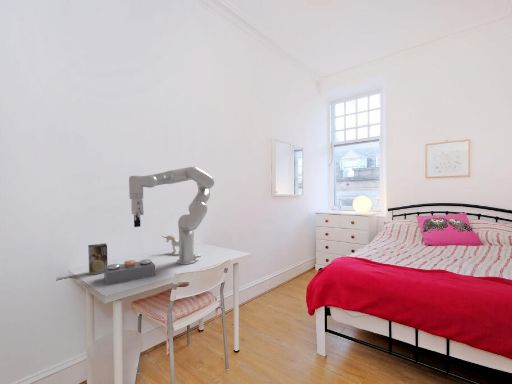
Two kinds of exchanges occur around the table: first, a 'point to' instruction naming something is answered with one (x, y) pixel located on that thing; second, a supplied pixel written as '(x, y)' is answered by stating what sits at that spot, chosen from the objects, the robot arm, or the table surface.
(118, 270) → the box
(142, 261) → the steel plunger
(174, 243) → the unicorn figurine
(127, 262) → the peach ball
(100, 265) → the coffee box
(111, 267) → the steel plunger
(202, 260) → the table surface
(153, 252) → the table surface
